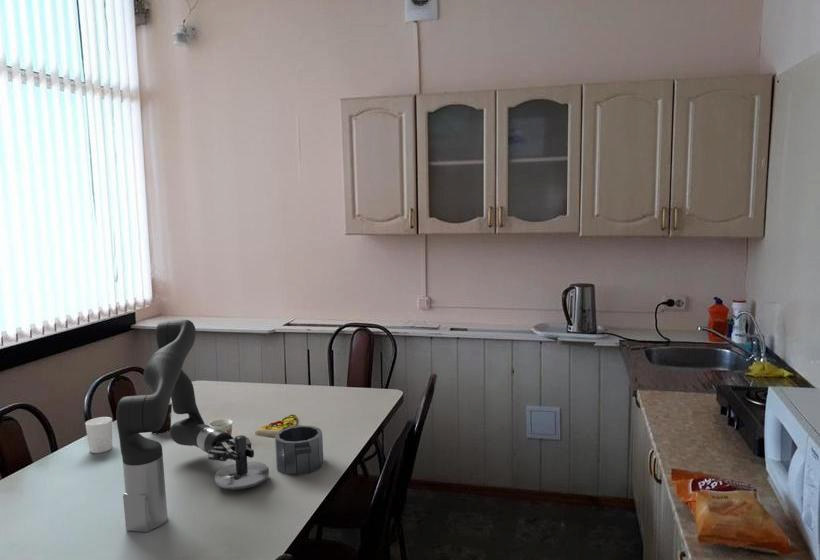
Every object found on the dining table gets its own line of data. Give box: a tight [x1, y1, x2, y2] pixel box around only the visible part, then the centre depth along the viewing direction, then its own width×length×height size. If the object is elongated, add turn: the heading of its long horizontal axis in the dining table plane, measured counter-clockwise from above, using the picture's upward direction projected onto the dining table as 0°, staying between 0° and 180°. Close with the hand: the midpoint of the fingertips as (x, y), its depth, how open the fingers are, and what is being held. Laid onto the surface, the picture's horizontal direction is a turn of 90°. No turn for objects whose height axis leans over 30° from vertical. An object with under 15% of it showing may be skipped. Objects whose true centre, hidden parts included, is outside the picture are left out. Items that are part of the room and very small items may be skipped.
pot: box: [274, 424, 325, 476], centre depth 181 cm, size 20×14×10 cm
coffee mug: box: [151, 400, 173, 435], centre depth 215 cm, size 12×9×10 cm
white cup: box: [84, 416, 113, 454], centre depth 197 cm, size 8×8×10 cm
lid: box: [214, 435, 270, 490], centre depth 169 cm, size 15×15×12 cm
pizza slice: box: [254, 414, 298, 438], centre depth 215 cm, size 16×21×3 cm
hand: (246, 456), depth 167 cm, fingers closed on lid, 3 cm apart
